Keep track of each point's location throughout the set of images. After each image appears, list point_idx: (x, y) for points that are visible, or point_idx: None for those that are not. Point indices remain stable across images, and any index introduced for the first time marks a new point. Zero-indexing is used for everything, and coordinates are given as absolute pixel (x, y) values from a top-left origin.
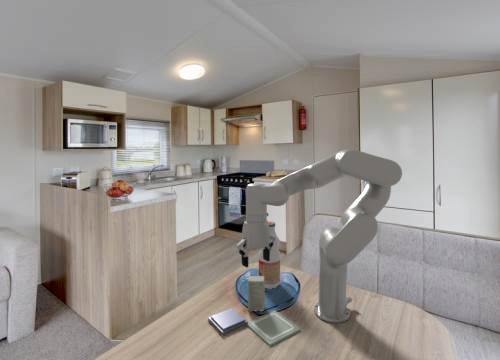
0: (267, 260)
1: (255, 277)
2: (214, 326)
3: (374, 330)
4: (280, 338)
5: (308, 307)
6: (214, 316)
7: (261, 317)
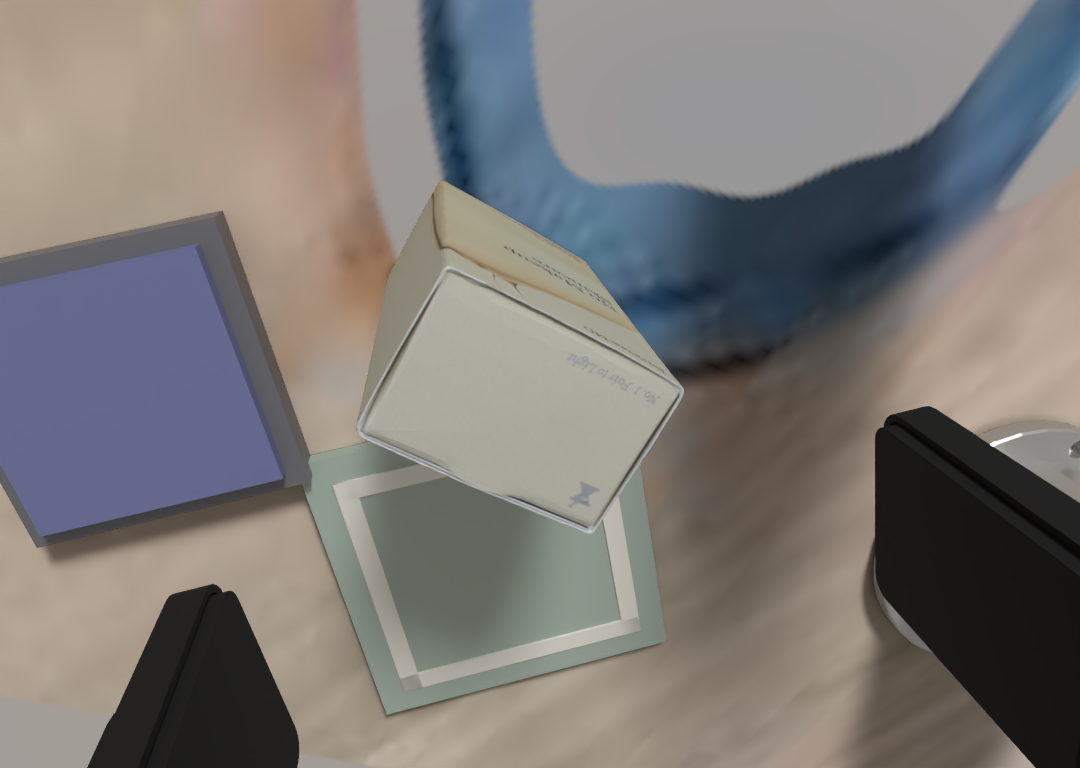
0: (885, 584)
1: (531, 375)
2: None
3: None
4: (481, 686)
5: None
6: None
7: None
